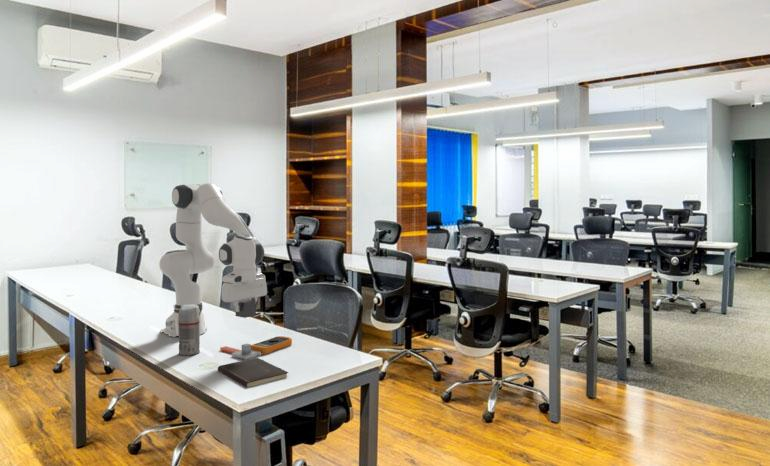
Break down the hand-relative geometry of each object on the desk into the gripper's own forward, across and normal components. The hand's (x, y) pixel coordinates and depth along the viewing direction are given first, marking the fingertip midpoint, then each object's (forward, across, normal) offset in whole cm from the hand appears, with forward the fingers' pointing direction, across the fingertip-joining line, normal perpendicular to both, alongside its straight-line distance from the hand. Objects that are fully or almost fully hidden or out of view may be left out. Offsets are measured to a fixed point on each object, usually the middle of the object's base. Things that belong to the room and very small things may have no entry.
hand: (245, 310), depth 208 cm
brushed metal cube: (+2, 0, 0) cm, 2 cm away
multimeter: (+19, -14, 0) cm, 24 cm away
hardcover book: (+20, +13, +19) cm, 30 cm away
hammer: (+19, 0, -6) cm, 20 cm away
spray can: (+19, +11, -22) cm, 31 cm away
